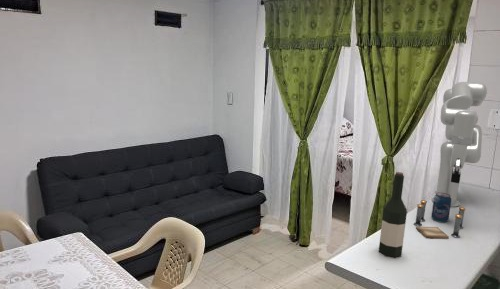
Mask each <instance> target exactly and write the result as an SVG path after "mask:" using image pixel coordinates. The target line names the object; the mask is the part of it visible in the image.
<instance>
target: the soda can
mask: <svg viewBox="0 0 500 289" xmlns="http://www.w3.org/2000/svg"><path fill="white" fill-rule="evenodd" d="M433 197H434V202H433V201H432V202H433V204H432V209H431V210H432V211H431V218H432V220H433V221H435V222H438V223H446V222H447V221H449V219H450V211H451V207H450V206H451V197H450V195H449V194H446V193H435V195H434V196H433Z"/></svg>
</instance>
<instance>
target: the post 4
mask: <svg viewBox="0 0 500 289" xmlns="http://www.w3.org/2000/svg"><path fill="white" fill-rule="evenodd" d="M465 210H466V207H464V206H458V214H459V215H462V218H461V222H460V229H459V230H463V229H464V226H463V223H464V218H465V212H466V211H465Z"/></svg>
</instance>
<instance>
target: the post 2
mask: <svg viewBox="0 0 500 289" xmlns="http://www.w3.org/2000/svg"><path fill="white" fill-rule="evenodd" d="M427 203H428V201H427V200H424V199H421V200H420V204H421V205H423V209H422V216H421V223H422V222H423V223H425V222H426V219H425V214H426V206H427Z"/></svg>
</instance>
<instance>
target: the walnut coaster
mask: <svg viewBox="0 0 500 289" xmlns="http://www.w3.org/2000/svg"><path fill="white" fill-rule="evenodd" d="M415 228H416V229H415V230H417V231H418V232H419V234H421V235H422V236H423V237H424V238H425V239H432V240H433V239H435V240H436V239H437V240H438V239H439V240H448V239H449V238H450V236H449V235H448V234H446V233H445V232H444V231H443V230H442V229H440V228H439V227H438V226H415Z"/></svg>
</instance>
